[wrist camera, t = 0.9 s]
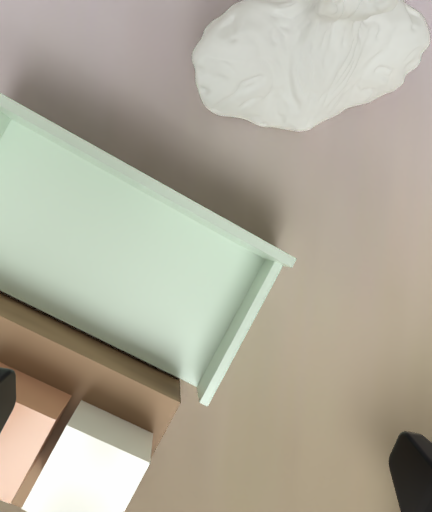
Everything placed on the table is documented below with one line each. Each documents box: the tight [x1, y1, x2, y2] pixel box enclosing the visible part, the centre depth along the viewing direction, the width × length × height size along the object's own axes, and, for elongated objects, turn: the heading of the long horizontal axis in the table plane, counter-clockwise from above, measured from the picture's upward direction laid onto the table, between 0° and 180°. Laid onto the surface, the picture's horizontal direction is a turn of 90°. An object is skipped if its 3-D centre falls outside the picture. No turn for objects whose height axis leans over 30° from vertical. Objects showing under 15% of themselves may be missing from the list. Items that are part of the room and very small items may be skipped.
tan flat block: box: [0, 293, 181, 508], centre depth 19 cm, size 8×14×3 cm, turn 61°
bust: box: [192, 0, 430, 132], centre depth 17 cm, size 12×8×11 cm
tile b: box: [0, 362, 72, 504], centre depth 16 cm, size 4×4×2 cm
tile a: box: [21, 400, 153, 512], centre depth 17 cm, size 4×4×2 cm
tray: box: [0, 93, 296, 406], centre depth 19 cm, size 9×17×4 cm, turn 61°
